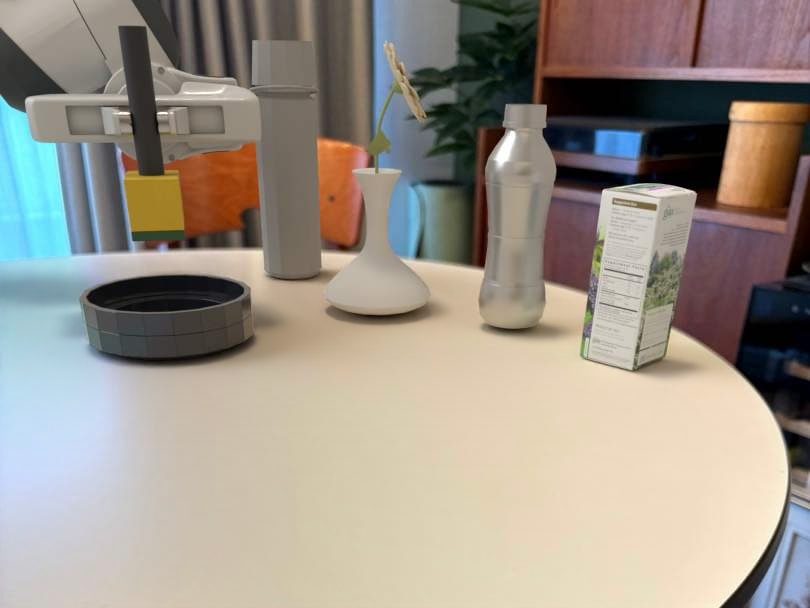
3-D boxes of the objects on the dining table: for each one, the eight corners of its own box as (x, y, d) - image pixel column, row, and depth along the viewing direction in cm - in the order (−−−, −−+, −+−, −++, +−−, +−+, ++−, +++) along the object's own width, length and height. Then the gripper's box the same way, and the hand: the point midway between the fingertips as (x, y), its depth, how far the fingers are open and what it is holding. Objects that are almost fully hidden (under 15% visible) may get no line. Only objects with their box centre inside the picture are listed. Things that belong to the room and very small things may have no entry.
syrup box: (613, 345, 79) (636, 180, 72) (668, 359, 75) (699, 188, 68) (578, 357, 75) (599, 186, 68) (634, 373, 72) (662, 193, 65)
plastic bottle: (547, 336, 81) (570, 107, 71) (478, 335, 81) (491, 105, 71) (539, 319, 87) (559, 103, 77) (474, 318, 87) (486, 102, 77)
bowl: (102, 374, 70) (93, 321, 67) (78, 328, 82) (70, 281, 79) (275, 352, 76) (271, 303, 73) (229, 312, 87) (225, 268, 85)
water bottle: (329, 279, 101) (321, 41, 88) (264, 282, 99) (247, 39, 87) (318, 264, 109) (310, 42, 96) (258, 266, 107) (242, 41, 95)
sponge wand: (132, 241, 72) (99, 24, 64) (135, 229, 77) (105, 26, 69) (185, 239, 72) (160, 25, 64) (185, 228, 78) (161, 27, 69)
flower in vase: (410, 329, 83) (416, 37, 70) (307, 317, 86) (294, 36, 73) (447, 299, 94) (457, 41, 81) (353, 290, 97) (349, 40, 84)
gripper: (30, 76, 77) (3, 80, 66) (251, 77, 81) (262, 81, 70) (44, 150, 80) (21, 166, 69) (256, 148, 84) (268, 163, 73)
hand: (144, 123), depth 69 cm, fingers closed on sponge wand, 2 cm apart
